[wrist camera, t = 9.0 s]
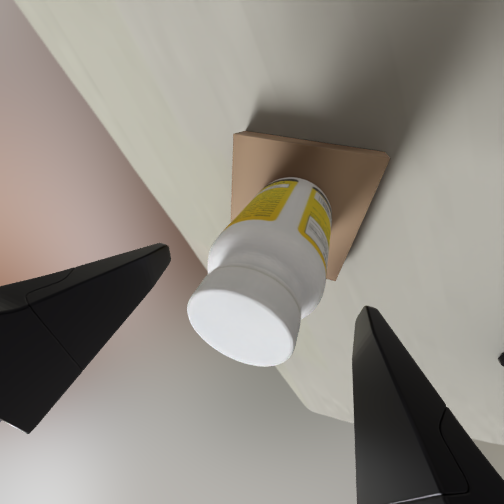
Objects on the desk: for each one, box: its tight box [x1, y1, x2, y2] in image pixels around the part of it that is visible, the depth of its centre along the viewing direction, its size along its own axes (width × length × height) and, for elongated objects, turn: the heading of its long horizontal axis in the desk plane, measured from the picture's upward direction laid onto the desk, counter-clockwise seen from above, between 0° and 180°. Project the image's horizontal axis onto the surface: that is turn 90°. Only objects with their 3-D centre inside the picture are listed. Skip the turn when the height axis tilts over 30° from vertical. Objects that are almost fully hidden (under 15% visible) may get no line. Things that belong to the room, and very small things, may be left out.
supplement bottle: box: [187, 177, 332, 366], centre depth 11 cm, size 5×5×10 cm
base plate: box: [231, 131, 390, 281], centre depth 16 cm, size 9×9×2 cm
